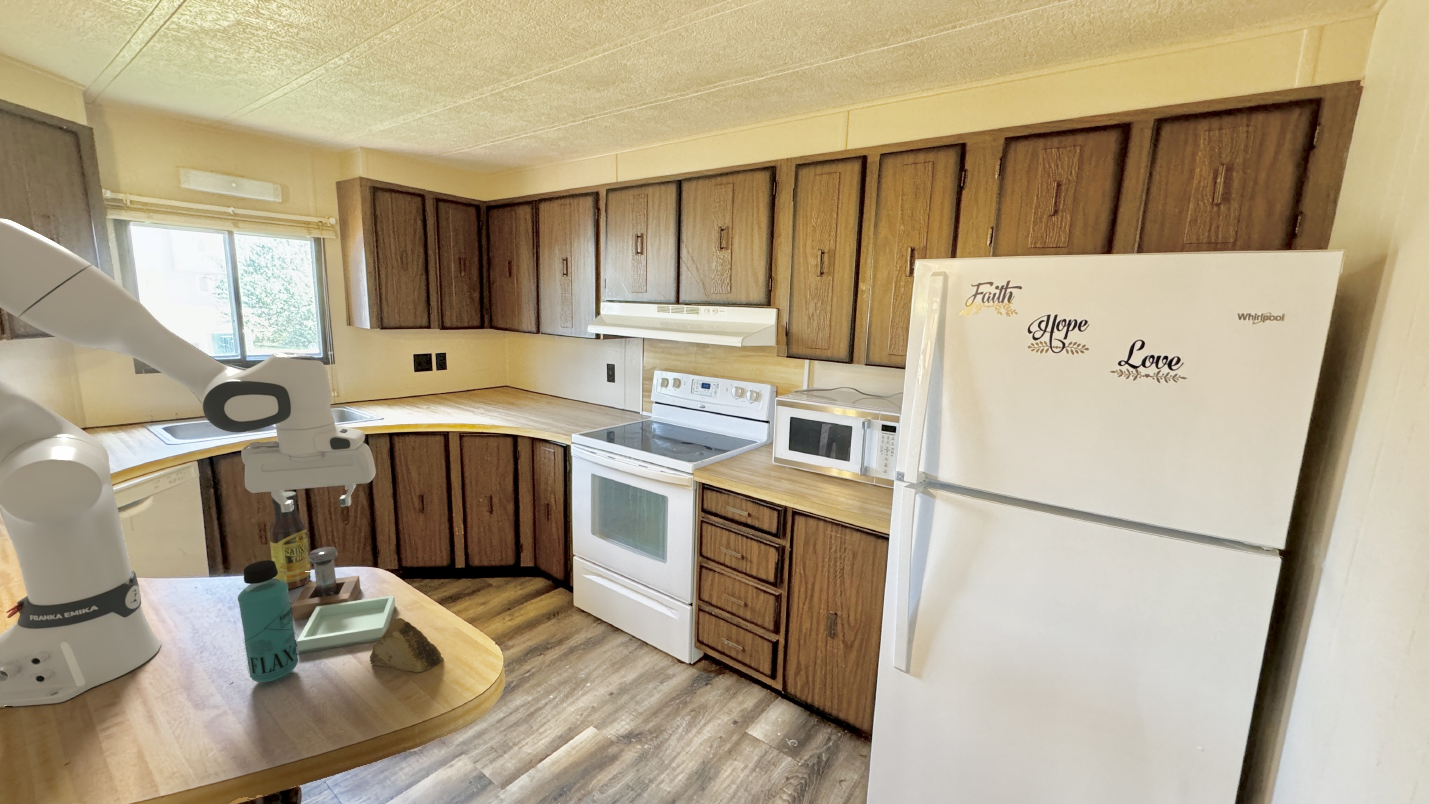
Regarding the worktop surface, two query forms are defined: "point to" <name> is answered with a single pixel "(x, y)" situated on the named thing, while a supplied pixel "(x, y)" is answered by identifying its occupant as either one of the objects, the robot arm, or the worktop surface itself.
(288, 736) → the worktop surface
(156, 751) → the worktop surface
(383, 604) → the dish
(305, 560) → the sauce bottle
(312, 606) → the collar
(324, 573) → the pin
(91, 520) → the robot arm
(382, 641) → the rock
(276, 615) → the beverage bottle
